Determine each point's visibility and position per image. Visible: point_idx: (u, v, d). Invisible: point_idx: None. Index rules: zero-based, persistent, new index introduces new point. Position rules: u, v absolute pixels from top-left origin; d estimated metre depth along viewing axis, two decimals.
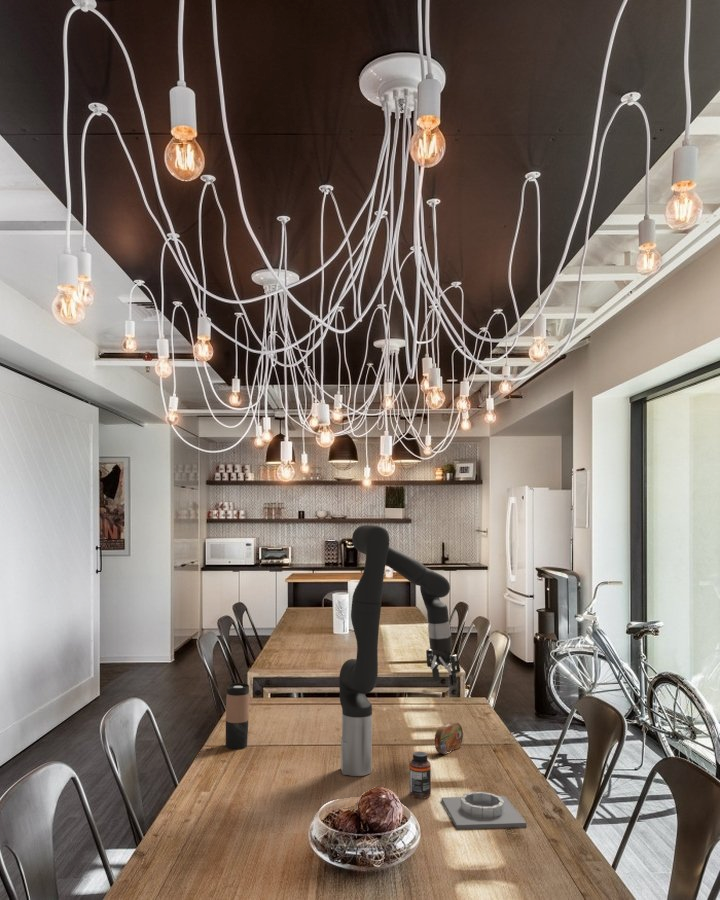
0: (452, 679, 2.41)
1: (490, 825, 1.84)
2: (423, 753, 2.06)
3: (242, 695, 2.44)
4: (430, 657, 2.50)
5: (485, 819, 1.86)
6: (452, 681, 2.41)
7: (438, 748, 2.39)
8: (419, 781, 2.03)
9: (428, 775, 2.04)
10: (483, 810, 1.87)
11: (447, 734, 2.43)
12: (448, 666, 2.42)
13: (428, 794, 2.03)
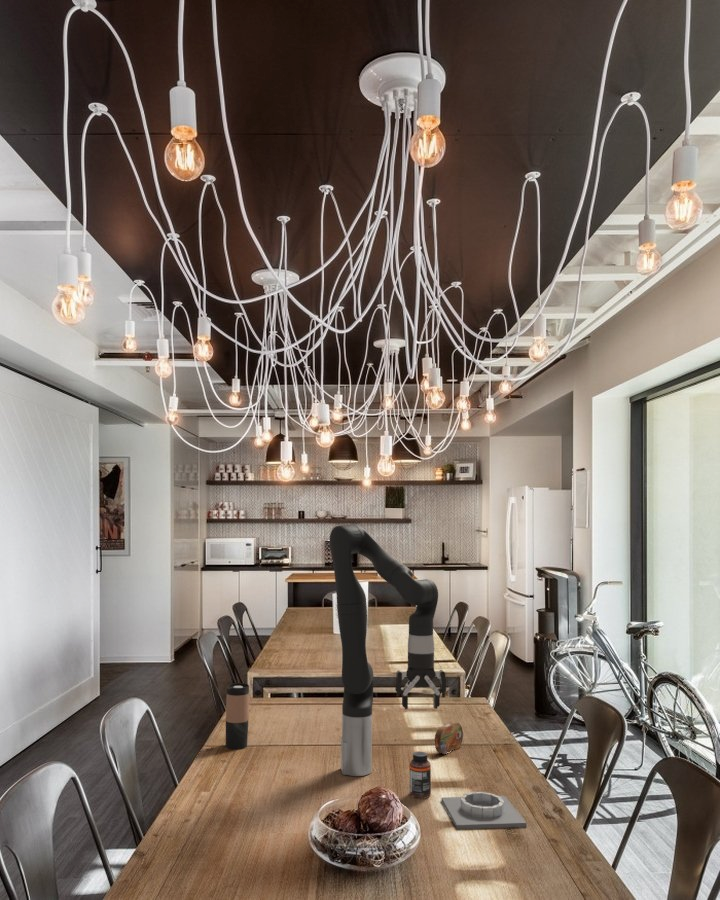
0: None
1: (490, 825, 1.84)
2: (423, 753, 2.06)
3: (242, 695, 2.44)
4: (440, 680, 2.09)
5: (485, 819, 1.86)
6: None
7: (438, 748, 2.39)
8: (419, 781, 2.03)
9: (428, 775, 2.04)
10: (483, 810, 1.87)
11: (447, 734, 2.43)
12: (406, 684, 2.08)
13: (428, 794, 2.03)
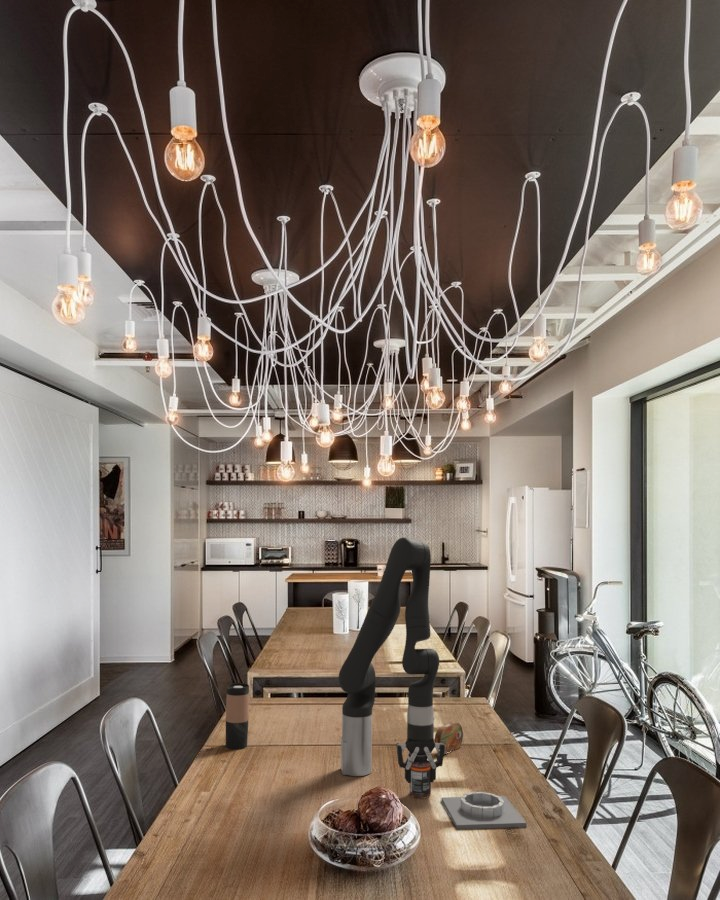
0: None
1: (490, 825, 1.84)
2: None
3: (242, 695, 2.44)
4: (438, 752, 2.07)
5: (485, 819, 1.86)
6: None
7: None
8: (419, 781, 2.03)
9: (428, 775, 2.04)
10: (483, 810, 1.87)
11: (447, 734, 2.43)
12: (407, 756, 2.07)
13: (428, 794, 2.03)
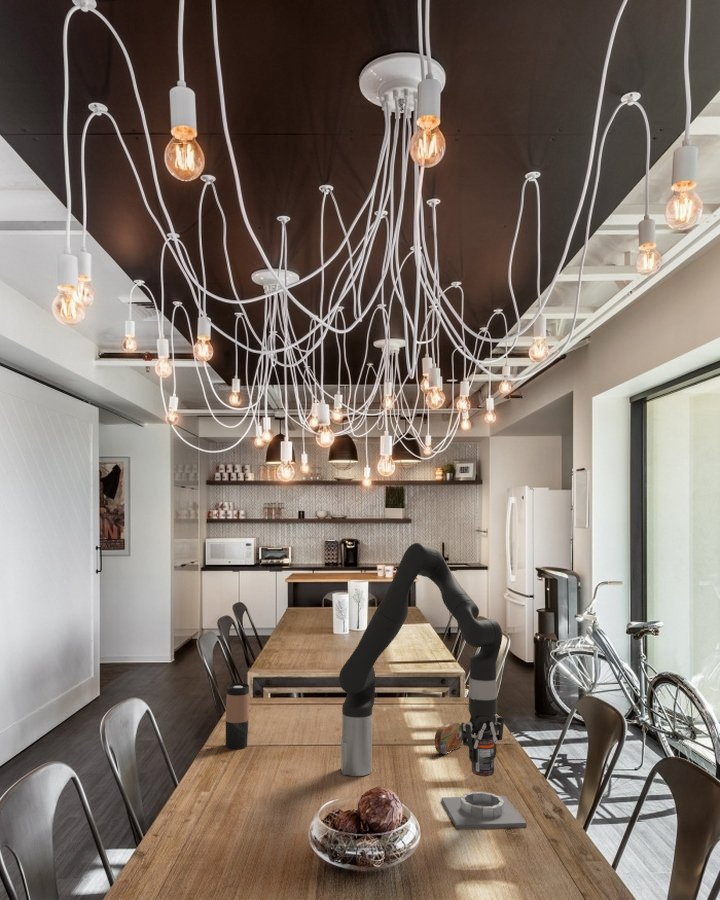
0: None
1: (490, 825, 1.84)
2: None
3: (242, 695, 2.44)
4: (495, 726, 1.98)
5: (485, 819, 1.86)
6: None
7: (438, 748, 2.39)
8: (488, 758, 1.92)
9: (493, 751, 1.94)
10: (483, 810, 1.87)
11: (447, 734, 2.43)
12: None
13: (493, 771, 1.94)
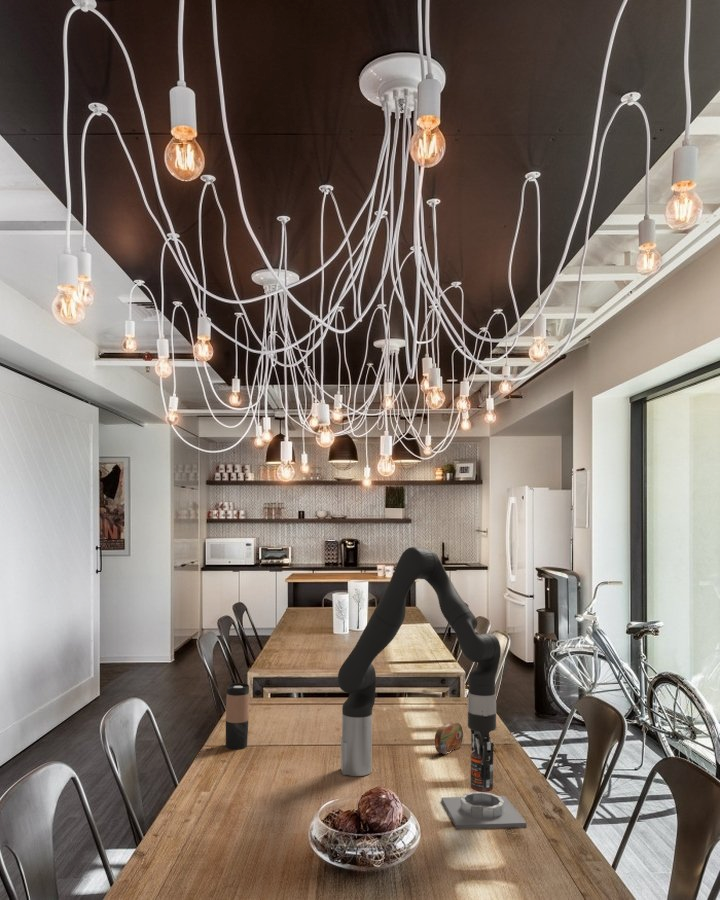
0: (483, 771, 1.90)
1: (490, 825, 1.84)
2: None
3: (242, 695, 2.44)
4: None
5: (485, 819, 1.86)
6: (483, 774, 1.90)
7: (438, 748, 2.39)
8: None
9: None
10: (483, 810, 1.87)
11: (447, 734, 2.43)
12: (481, 753, 1.91)
13: None
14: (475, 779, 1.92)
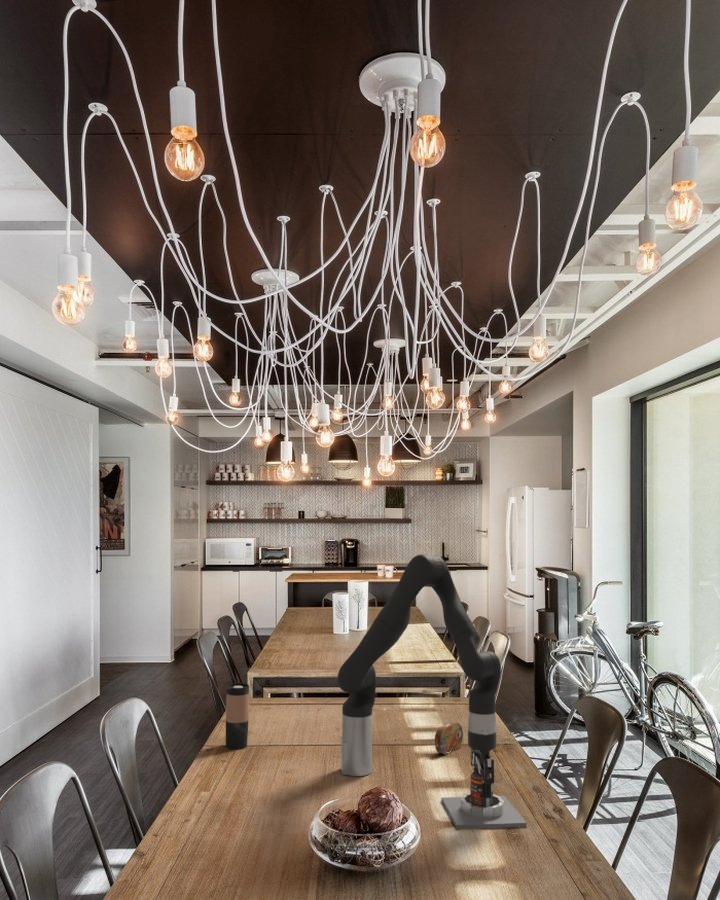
0: (484, 789, 1.88)
1: (490, 825, 1.84)
2: None
3: (242, 695, 2.44)
4: None
5: (485, 819, 1.86)
6: (484, 792, 1.88)
7: (438, 748, 2.39)
8: (492, 791, 1.93)
9: None
10: (483, 810, 1.87)
11: (447, 734, 2.43)
12: (482, 771, 1.90)
13: None
14: (475, 800, 1.91)
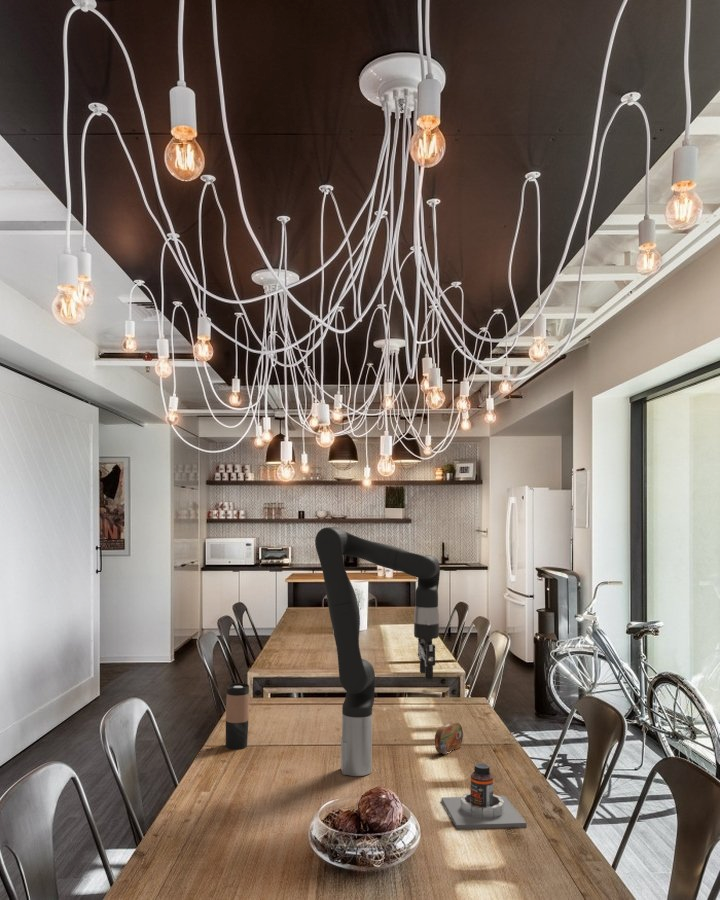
0: (427, 671, 2.15)
1: (490, 825, 1.84)
2: (480, 764, 1.95)
3: (242, 695, 2.44)
4: None
5: (485, 819, 1.86)
6: (427, 674, 2.15)
7: (438, 748, 2.39)
8: None
9: None
10: (483, 810, 1.87)
11: (447, 734, 2.43)
12: (425, 656, 2.17)
13: None
14: (475, 800, 1.91)
